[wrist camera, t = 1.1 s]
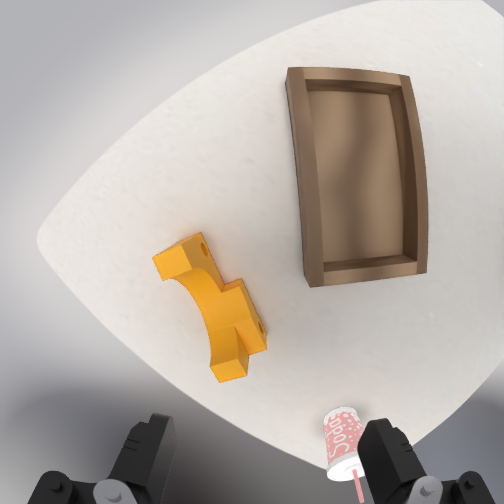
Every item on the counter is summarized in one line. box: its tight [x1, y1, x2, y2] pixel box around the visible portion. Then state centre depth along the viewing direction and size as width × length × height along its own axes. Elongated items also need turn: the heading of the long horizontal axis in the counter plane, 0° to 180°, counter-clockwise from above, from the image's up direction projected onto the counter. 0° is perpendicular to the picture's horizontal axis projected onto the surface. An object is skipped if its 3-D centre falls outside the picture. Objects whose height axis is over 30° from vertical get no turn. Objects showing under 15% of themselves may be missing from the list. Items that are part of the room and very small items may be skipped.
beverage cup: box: [323, 407, 365, 503], centre depth 23 cm, size 6×6×14 cm
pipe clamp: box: [152, 232, 267, 383], centre depth 23 cm, size 12×4×6 cm, turn 23°
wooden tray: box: [285, 67, 428, 287], centre depth 21 cm, size 11×18×4 cm, turn 6°
